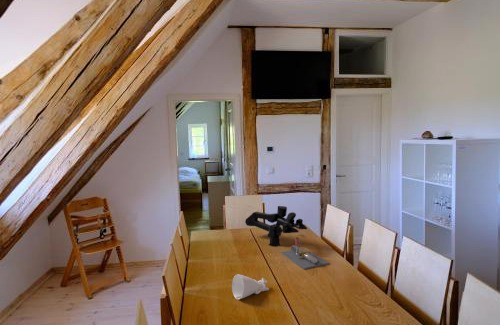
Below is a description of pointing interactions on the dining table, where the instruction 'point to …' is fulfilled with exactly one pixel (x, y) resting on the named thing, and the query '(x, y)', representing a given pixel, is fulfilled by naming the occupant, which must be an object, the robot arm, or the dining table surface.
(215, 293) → the dining table surface
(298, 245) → the lever
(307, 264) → the mounting board
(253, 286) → the rocket engine
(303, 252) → the valve
